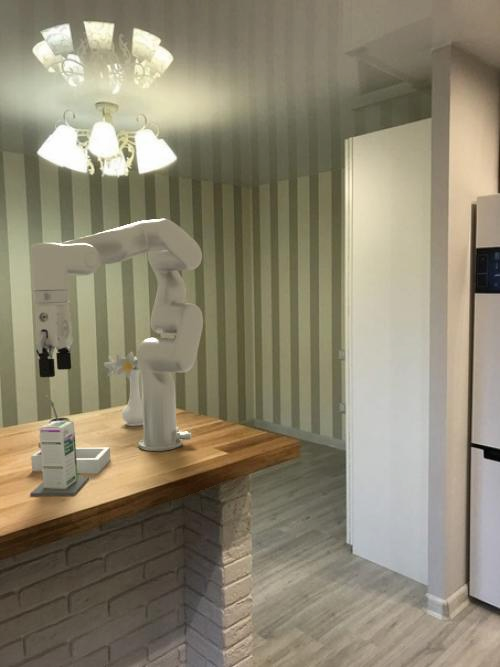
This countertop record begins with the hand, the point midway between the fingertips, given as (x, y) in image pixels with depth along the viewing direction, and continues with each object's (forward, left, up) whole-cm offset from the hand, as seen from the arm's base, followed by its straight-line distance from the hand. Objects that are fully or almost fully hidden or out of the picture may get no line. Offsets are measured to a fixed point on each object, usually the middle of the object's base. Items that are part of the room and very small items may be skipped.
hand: (56, 372), depth 120 cm
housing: (+3, -14, -27) cm, 30 cm away
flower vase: (-3, -56, -27) cm, 62 cm away
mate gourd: (+13, -32, -27) cm, 44 cm away
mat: (0, 0, -27) cm, 27 cm away
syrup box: (0, 0, -27) cm, 27 cm away
